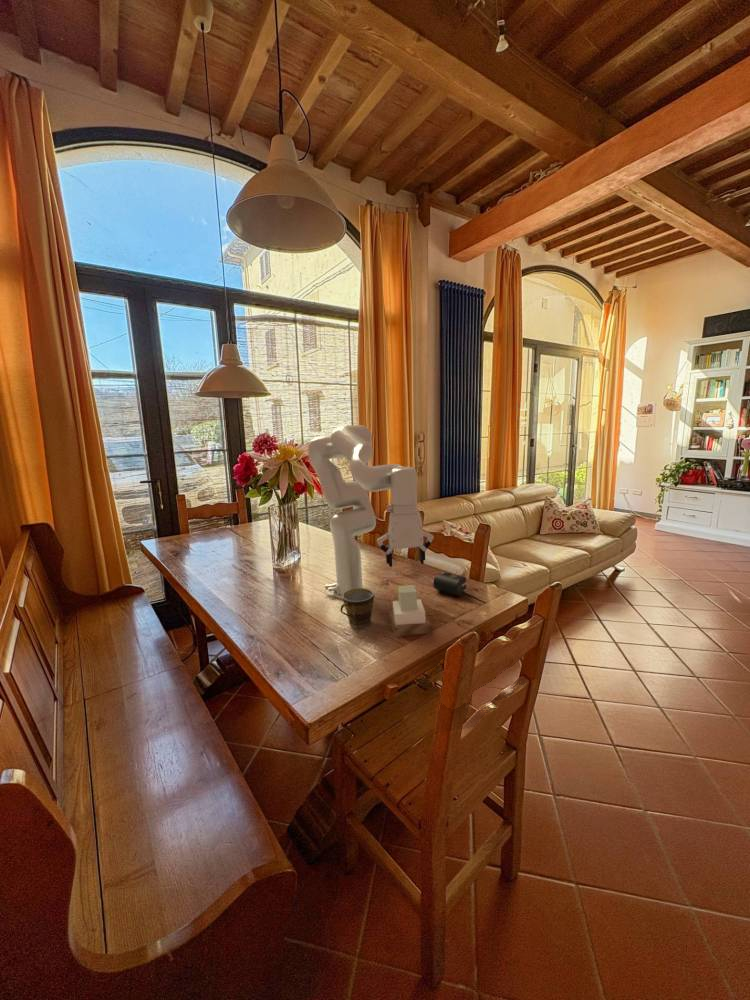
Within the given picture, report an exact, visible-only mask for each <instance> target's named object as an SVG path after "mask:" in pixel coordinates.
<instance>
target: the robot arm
mask: <svg viewBox="0 0 750 1000" xmlns="http://www.w3.org/2000/svg"><path fill="white" fill-rule="evenodd" d="M372 442H373V435H372V432H371V431H370V429H369V428H368V427H367V426H365V425H362V424H358V425H355V424H354V425H342V426H339V427H336V428H335V429H334V430H333V431H331V434H330V435H323V436H317V437H315V438H313V439H311V440H310V441H309V443H308V446H307V455H308V460H309V462H310V464H311V465H310V466H311V467H312V469H313V471H314V473H315V474H316V476H317V478H318V481H319V484H320V488H321V490H322V493H323V496H324V500H325V501H326V505H327V507H328V508H330V510H342V509H347V508H353V509H348V510H344V511H343V510H342V511H340V512H337V513H335V514H333V515H332V516H331V517H330V520H329V527H330V528H329V529H330V532H331V535H332V536H331V537H332V540H333V547H334V548H333V549H334V561H335V573H336V580H335V582H334V583H332V584H330V583H329V584H328V583H327V584H324V589H325V591H327V590H328V592H333V596H334V597H335V598H337V599H338V600H342V601H343V597H342V595H343V594H344V593H345V592H346V591H348V590H351V589H356V588H365V589H368V588H367V586H365V585H364V584H363V571H362V557H361V554H362V553H361V546H360V544H359V542H358V541H357V540H356V539H355V536H358V535H363V534H366V533H369V532H370V533H371V531H373V530H374V529H375V527H376V525H377V518H376V514H375V512H374V511H375V510H374V507H373V505H372V502H371V499H370V497H369V494H368V492H371V493H374V492H381V491H385V490H390V493H391V499H390V500H391V503H390V505H389V506H386V510H387V511H386V512H391V513H389V516H388V517H389V518H388V523H387V525H388V526H387V532H386V533H385V534H383V535H381V536H379V537H378V538H377V539H376V542H377V545H378V546H379V548H380V549H381V550H382V551H383V552H384V553H385V559H386V560H385V562H386V564H387V565H388V566H389V568H392V567H393V553H392V552H393V551H394V550H398V549H400V550H401V549H411V548H418V561H419V563H420V564H422V565H424V562H425V560H426V552H427V549H428V548H429V547H430V546H431V544H432V541H433V540H434V537H435V536H434V535H433V534H431V533H429V532H427V531H425V530H423V529H424V527H423V522H422V521H423V520H422V517H421V512H419V511H418V482H417V481H418V477H417V476H418V475H417V473H418V472H417V469H416V468H414V467H411V466H403V465H401V464H398V463H391V464H390V463H389V464H380V465H373V466H370V465H368V463H369V462H370V461H371V459H372V457H373V454H374V449H373V447H372ZM339 458H341V459H342V458H346V459H347V460H349V470H350V473H351V477H352V479H353V480H351V481H345V480H344V478H343V475H342V472H341V471H340V469H339V468H338V466H337V465H336V464H335V463H333V462H332V461H331V459H339ZM424 537H425V538H427V539H426V541H424ZM384 541H387V542H388V544H387V545H385V544H384V543H383V542H384Z"/></svg>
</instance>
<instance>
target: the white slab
mask: <svg viewBox="0 0 750 1000" xmlns="http://www.w3.org/2000/svg"><path fill="white" fill-rule="evenodd" d="M392 611H393V614H394V619H395V624H396V625H405V624H418V623H426V622H425V614H426V611H425V607H424V605H423V603H422V600H421V598H420V599H419V598H417V610H410V611H401V610H400V606H399V600H393V601H392Z"/></svg>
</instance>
